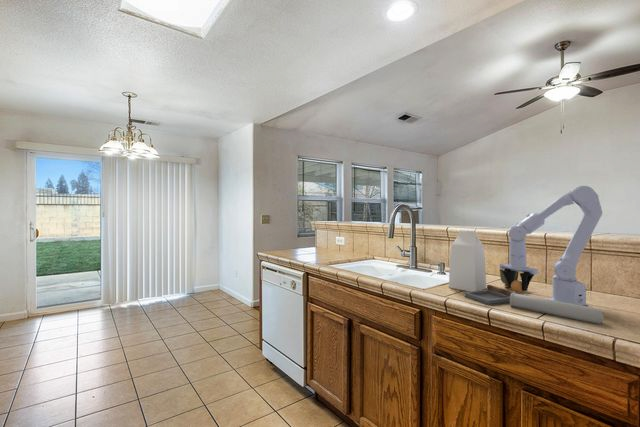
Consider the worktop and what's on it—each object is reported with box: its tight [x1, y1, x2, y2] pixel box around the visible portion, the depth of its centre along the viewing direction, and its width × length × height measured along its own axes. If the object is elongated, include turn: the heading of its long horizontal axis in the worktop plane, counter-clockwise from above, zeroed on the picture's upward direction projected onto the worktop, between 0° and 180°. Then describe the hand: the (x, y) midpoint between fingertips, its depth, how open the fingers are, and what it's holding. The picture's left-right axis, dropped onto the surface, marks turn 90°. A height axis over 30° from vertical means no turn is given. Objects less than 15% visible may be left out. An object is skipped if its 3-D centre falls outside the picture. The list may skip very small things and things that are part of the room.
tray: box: [464, 289, 510, 306], centre depth 122 cm, size 12×12×2 cm
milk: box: [448, 229, 487, 292], centre depth 141 cm, size 12×12×26 cm
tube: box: [509, 293, 605, 324], centre depth 104 cm, size 5×5×25 cm
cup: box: [499, 268, 520, 289], centre depth 141 cm, size 8×7×8 cm
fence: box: [486, 284, 529, 296], centre depth 125 cm, size 18×1×3 cm, turn 17°
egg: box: [510, 279, 524, 294], centre depth 127 cm, size 5×5×5 cm
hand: (517, 289), depth 127 cm, fingers closed on egg, 5 cm apart
